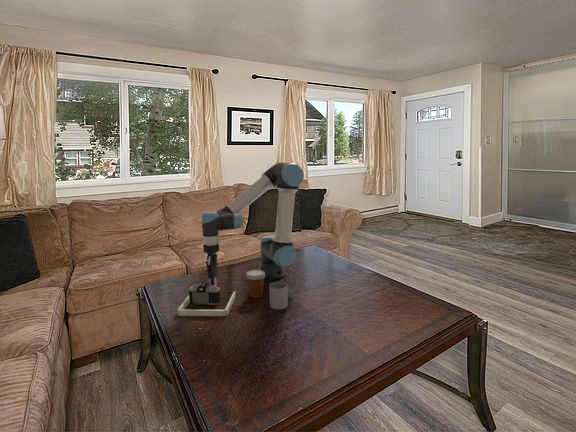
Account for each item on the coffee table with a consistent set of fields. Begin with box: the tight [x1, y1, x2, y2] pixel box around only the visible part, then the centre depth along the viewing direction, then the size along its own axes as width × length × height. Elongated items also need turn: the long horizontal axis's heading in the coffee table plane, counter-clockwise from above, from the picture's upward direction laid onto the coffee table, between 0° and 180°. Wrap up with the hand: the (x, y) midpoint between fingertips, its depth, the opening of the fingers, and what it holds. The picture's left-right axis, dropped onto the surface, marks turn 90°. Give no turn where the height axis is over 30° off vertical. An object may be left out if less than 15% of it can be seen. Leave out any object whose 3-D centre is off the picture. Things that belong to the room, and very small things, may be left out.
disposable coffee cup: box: [245, 269, 265, 299], centre depth 173 cm, size 10×10×12 cm
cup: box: [268, 281, 289, 310], centre depth 162 cm, size 8×8×10 cm
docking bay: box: [176, 291, 237, 317], centre depth 164 cm, size 22×21×2 cm
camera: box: [188, 282, 222, 306], centre depth 168 cm, size 16×9×10 cm, turn 82°
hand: (213, 289), depth 174 cm, fingers closed
